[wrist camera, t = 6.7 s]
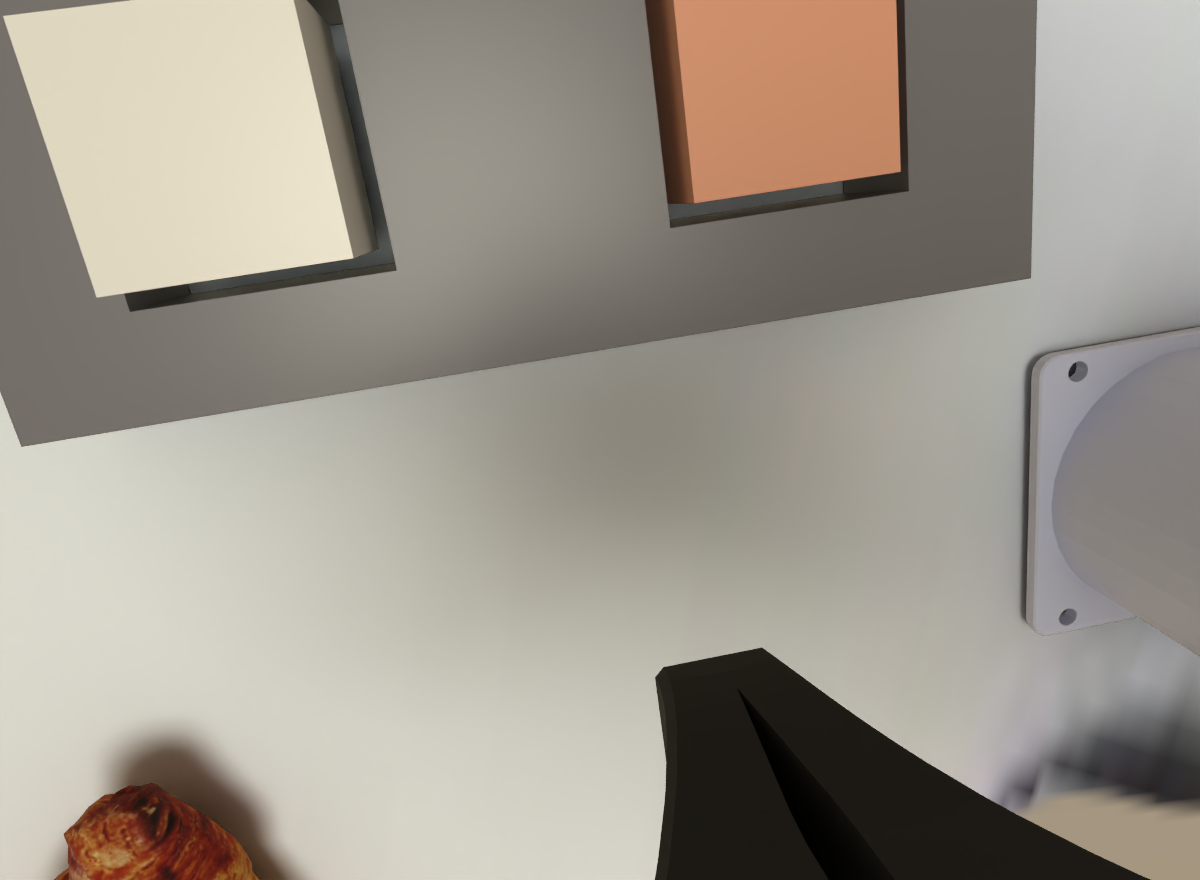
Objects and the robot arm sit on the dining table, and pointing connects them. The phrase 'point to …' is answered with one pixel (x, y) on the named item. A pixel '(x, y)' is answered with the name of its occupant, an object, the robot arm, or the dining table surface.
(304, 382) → the key block
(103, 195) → the beige key
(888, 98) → the terracotta key
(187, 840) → the croissant
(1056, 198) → the dining table surface
